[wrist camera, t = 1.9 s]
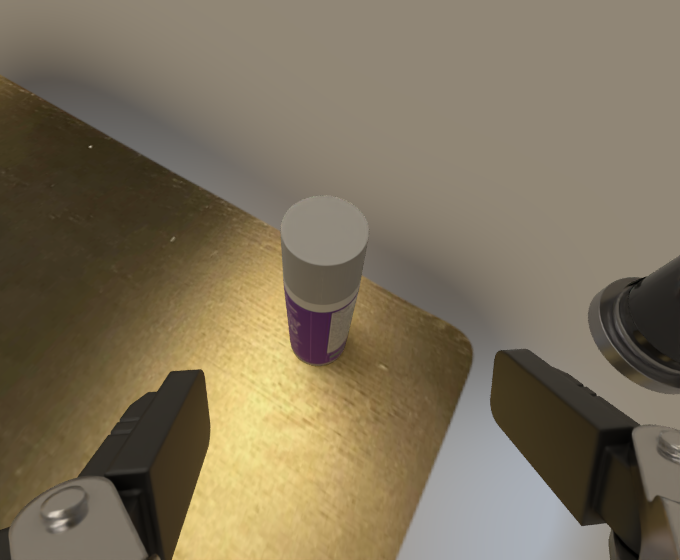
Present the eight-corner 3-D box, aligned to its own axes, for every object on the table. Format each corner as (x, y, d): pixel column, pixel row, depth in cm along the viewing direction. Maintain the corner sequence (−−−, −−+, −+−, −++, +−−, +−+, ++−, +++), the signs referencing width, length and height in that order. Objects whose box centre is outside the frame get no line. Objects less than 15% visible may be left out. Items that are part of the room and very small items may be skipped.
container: (278, 342, 31) (257, 231, 18) (315, 303, 33) (319, 179, 20) (321, 378, 30) (331, 285, 17) (356, 336, 32) (389, 225, 19)
